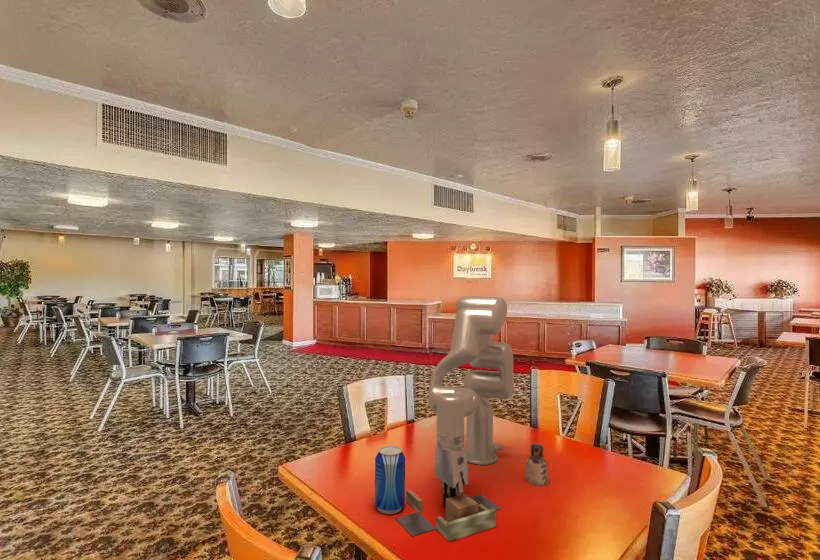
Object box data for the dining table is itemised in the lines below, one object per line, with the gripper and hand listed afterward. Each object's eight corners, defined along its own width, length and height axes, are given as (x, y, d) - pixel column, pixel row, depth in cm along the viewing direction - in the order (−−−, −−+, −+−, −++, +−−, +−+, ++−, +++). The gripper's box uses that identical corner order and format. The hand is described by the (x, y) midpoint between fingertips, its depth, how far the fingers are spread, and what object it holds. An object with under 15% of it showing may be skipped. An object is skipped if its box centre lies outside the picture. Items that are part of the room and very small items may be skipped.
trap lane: (466, 485, 131) (466, 472, 132) (516, 519, 112) (516, 504, 112) (384, 506, 118) (384, 492, 118) (424, 550, 98) (424, 532, 99)
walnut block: (464, 516, 114) (464, 493, 114) (477, 527, 108) (478, 503, 108) (445, 521, 111) (445, 498, 111) (458, 533, 105) (458, 509, 106)
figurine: (550, 479, 136) (550, 441, 137) (546, 488, 130) (546, 449, 130) (528, 474, 140) (528, 437, 140) (523, 482, 133) (523, 444, 134)
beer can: (374, 500, 121) (375, 444, 122) (403, 499, 122) (404, 444, 122) (374, 516, 113) (375, 456, 113) (405, 515, 114) (406, 455, 114)
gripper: (478, 446, 110) (477, 517, 110) (446, 429, 123) (445, 493, 123) (454, 451, 107) (453, 525, 106) (424, 433, 120) (423, 499, 119)
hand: (449, 507), depth 115 cm, fingers closed
